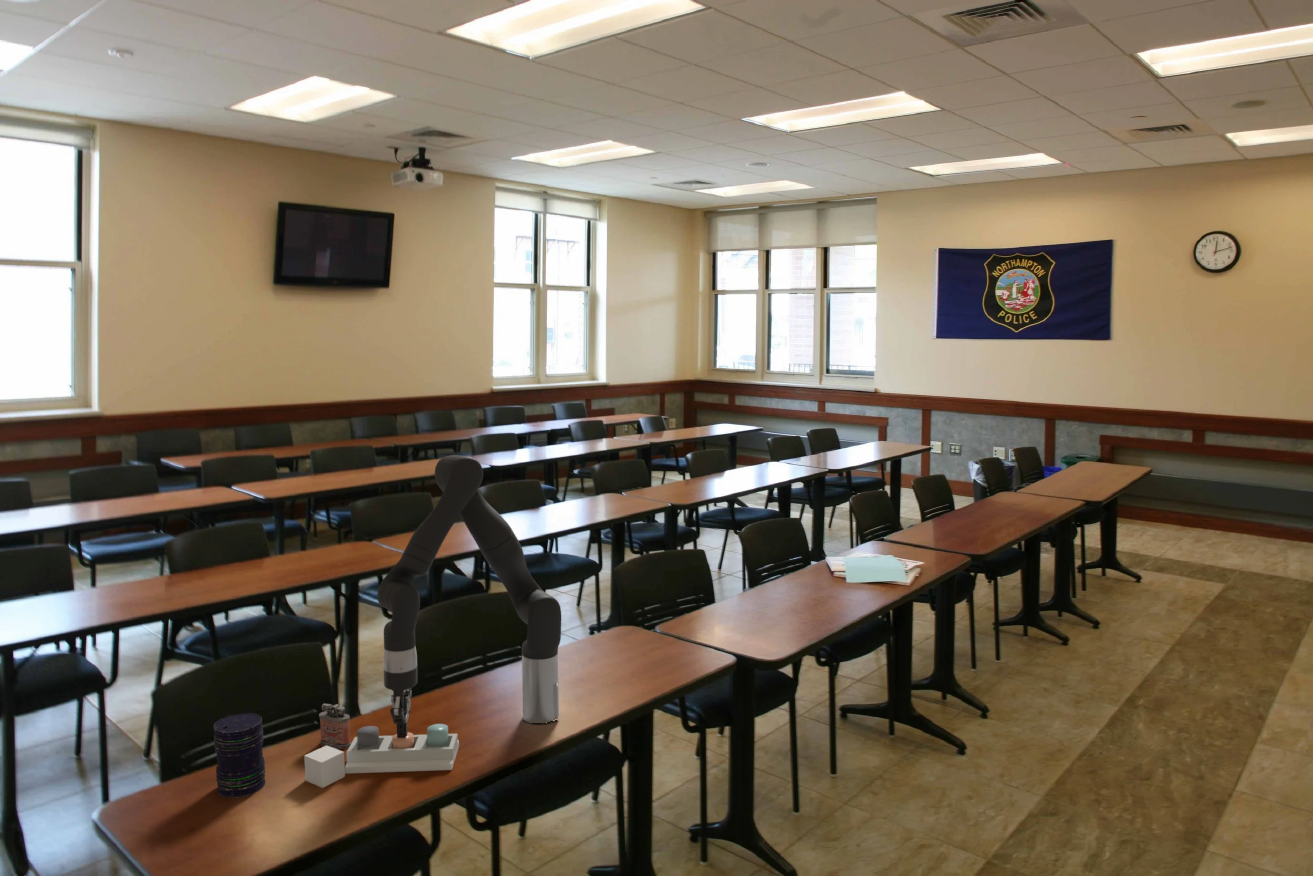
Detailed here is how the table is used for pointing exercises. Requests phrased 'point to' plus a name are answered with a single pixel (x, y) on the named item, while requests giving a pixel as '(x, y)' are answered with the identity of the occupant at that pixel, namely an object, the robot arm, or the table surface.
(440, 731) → the teal button
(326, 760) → the white cube
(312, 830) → the table surface
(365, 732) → the charcoal button
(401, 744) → the terracotta button
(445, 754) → the button board
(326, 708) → the lighter
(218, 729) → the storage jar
